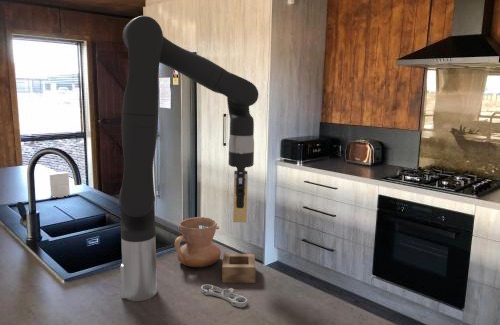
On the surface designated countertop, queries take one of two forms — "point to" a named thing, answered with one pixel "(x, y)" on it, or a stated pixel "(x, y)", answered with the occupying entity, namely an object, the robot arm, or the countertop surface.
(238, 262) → the walnut block
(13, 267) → the countertop surface
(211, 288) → the bracket
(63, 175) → the white rectangular block
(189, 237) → the ceramic jug
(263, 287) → the countertop surface
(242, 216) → the tan wooden square peg
